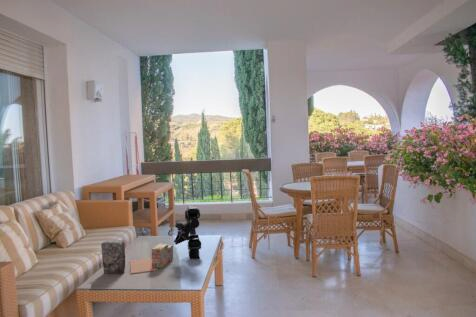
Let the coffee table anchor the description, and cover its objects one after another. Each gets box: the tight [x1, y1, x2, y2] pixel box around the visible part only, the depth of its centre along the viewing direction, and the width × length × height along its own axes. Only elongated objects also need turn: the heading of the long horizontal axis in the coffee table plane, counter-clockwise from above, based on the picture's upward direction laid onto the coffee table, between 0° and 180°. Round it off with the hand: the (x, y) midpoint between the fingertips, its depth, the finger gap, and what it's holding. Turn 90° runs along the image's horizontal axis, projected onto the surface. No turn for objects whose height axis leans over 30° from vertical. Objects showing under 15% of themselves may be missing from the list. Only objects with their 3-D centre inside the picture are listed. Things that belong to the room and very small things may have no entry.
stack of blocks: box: [151, 243, 174, 269], centre depth 249 cm, size 21×6×12 cm, turn 169°
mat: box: [129, 257, 158, 275], centre depth 245 cm, size 16×26×1 cm, turn 17°
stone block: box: [101, 239, 126, 275], centre depth 234 cm, size 13×7×20 cm, turn 87°
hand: (174, 243), depth 251 cm, fingers open, 5 cm apart
